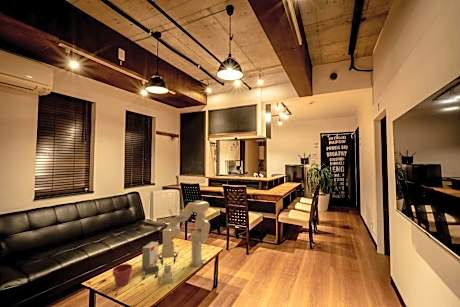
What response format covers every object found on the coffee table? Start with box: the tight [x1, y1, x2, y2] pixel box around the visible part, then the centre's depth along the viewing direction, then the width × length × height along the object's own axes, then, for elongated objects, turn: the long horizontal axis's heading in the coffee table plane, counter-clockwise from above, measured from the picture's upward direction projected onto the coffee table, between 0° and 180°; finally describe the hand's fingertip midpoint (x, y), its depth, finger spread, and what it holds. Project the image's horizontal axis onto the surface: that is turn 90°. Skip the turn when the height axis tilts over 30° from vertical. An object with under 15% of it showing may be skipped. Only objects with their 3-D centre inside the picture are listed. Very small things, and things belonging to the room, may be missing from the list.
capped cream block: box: [163, 264, 172, 278], centre depth 185 cm, size 6×8×8 cm
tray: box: [160, 270, 174, 284], centre depth 185 cm, size 10×11×3 cm
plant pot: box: [112, 263, 133, 288], centre depth 178 cm, size 14×14×13 cm
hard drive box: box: [141, 241, 159, 271], centre depth 207 cm, size 16×8×20 cm, turn 168°
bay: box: [142, 265, 160, 280], centre depth 191 cm, size 11×11×5 cm
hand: (168, 263), depth 186 cm, fingers open, 9 cm apart
